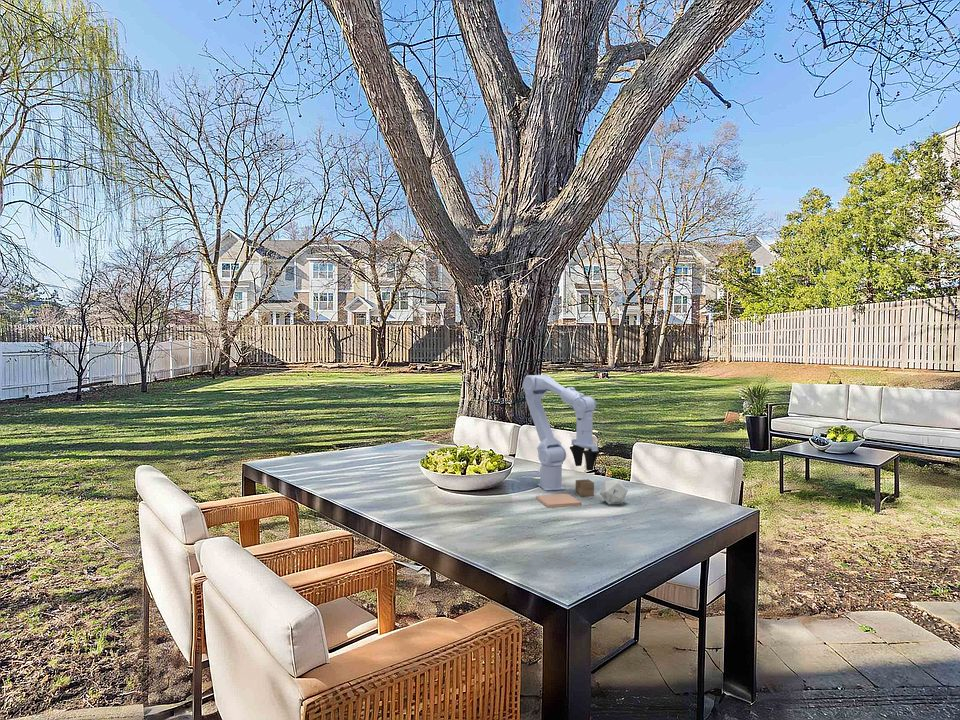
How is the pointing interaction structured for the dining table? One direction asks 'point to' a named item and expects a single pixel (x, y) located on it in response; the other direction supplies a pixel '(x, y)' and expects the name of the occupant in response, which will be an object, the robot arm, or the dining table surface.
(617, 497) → the die
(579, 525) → the dining table surface
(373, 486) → the dining table surface
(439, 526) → the dining table surface
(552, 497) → the tile
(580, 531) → the dining table surface
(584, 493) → the cube
